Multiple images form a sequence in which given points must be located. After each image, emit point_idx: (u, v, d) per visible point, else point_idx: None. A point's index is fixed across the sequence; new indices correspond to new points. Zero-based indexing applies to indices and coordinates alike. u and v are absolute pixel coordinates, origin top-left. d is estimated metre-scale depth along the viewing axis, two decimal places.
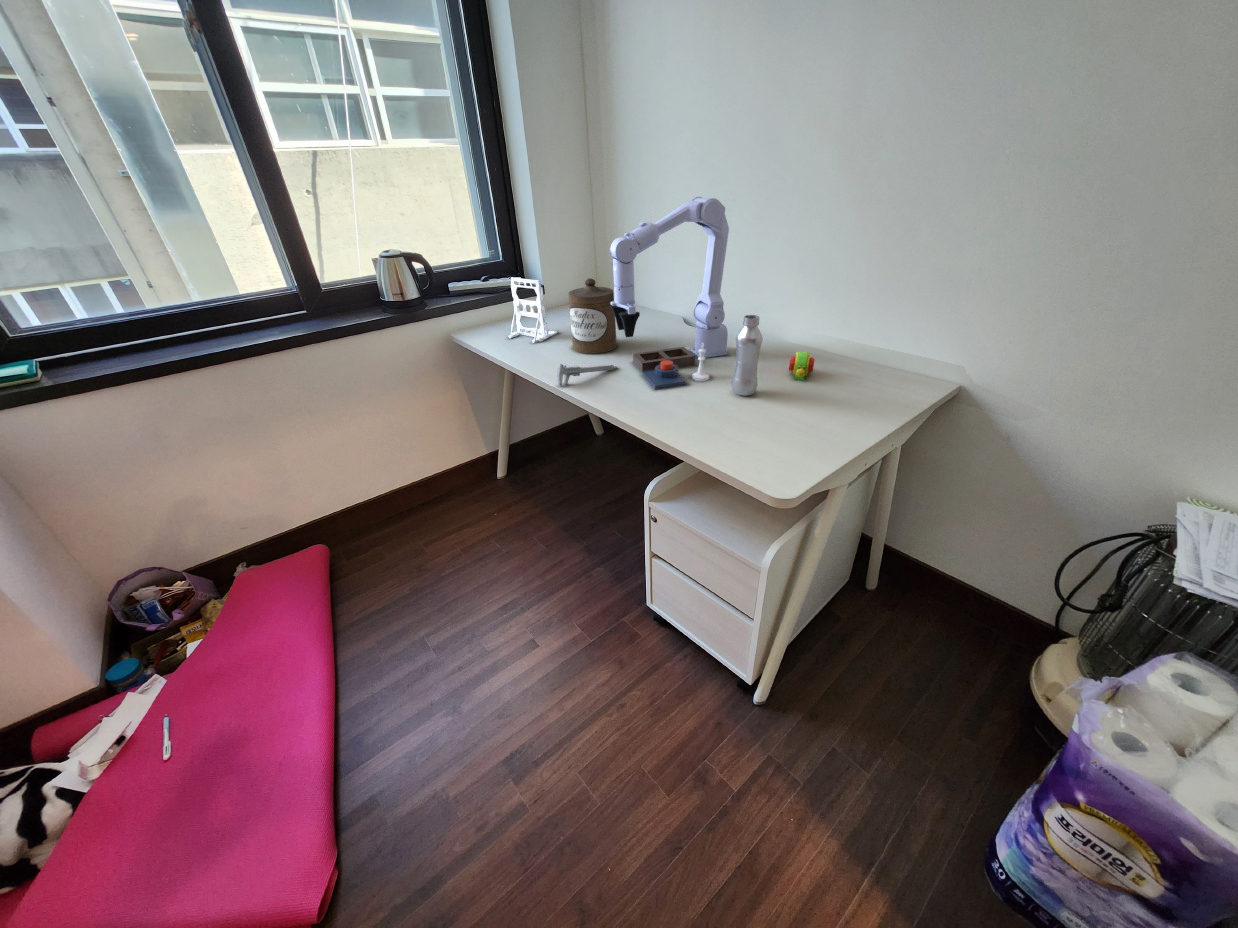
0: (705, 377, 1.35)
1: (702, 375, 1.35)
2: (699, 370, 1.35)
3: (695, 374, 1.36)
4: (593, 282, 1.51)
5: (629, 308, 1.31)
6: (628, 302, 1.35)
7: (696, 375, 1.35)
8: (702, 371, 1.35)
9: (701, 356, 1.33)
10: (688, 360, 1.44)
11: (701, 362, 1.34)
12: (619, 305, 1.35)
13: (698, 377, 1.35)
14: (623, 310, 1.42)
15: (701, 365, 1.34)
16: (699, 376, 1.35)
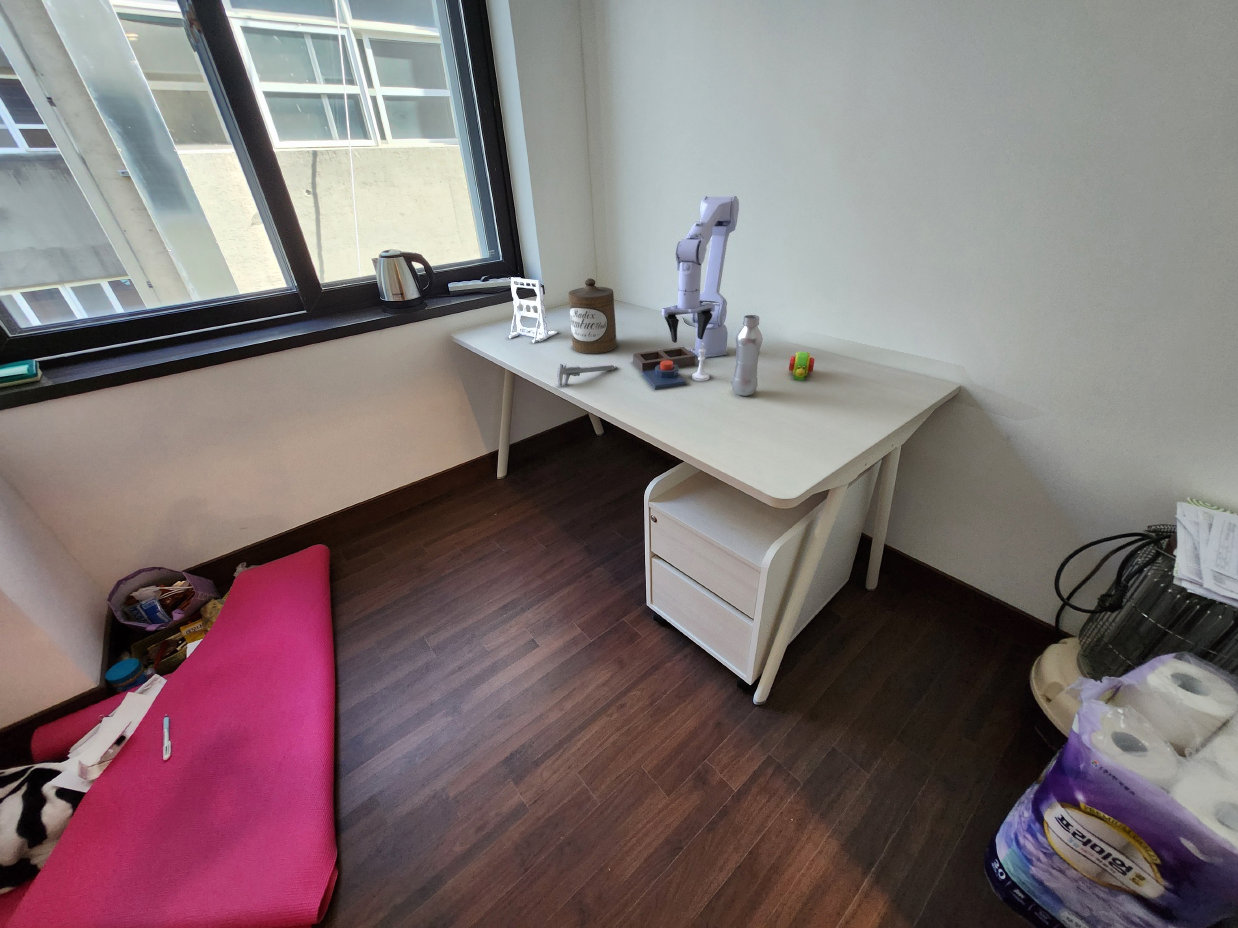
0: (705, 377, 1.35)
1: (702, 375, 1.35)
2: (699, 370, 1.35)
3: (695, 374, 1.36)
4: (593, 282, 1.51)
5: None
6: None
7: (696, 375, 1.35)
8: (702, 371, 1.35)
9: (701, 356, 1.33)
10: (688, 360, 1.44)
11: (701, 362, 1.34)
12: (700, 308, 1.27)
13: (698, 377, 1.35)
14: None
15: (701, 365, 1.34)
16: (699, 376, 1.35)
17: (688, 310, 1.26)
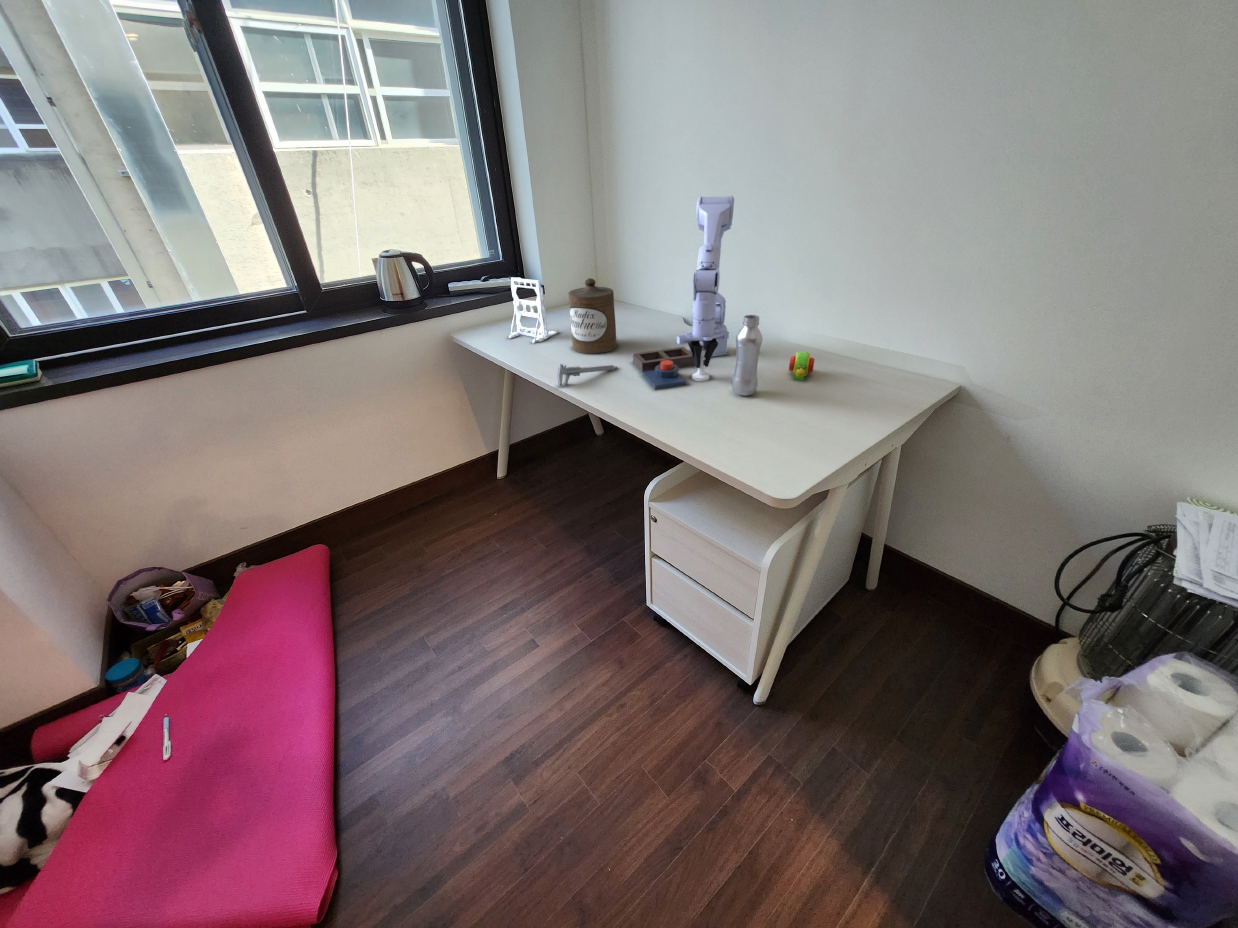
0: (705, 377, 1.35)
1: (702, 375, 1.35)
2: (699, 370, 1.35)
3: (695, 374, 1.36)
4: (593, 282, 1.51)
5: None
6: None
7: (696, 375, 1.35)
8: (702, 371, 1.35)
9: (701, 356, 1.33)
10: (688, 360, 1.44)
11: (701, 362, 1.34)
12: (715, 336, 1.29)
13: (698, 377, 1.35)
14: None
15: (701, 365, 1.34)
16: (699, 376, 1.35)
17: (703, 338, 1.28)
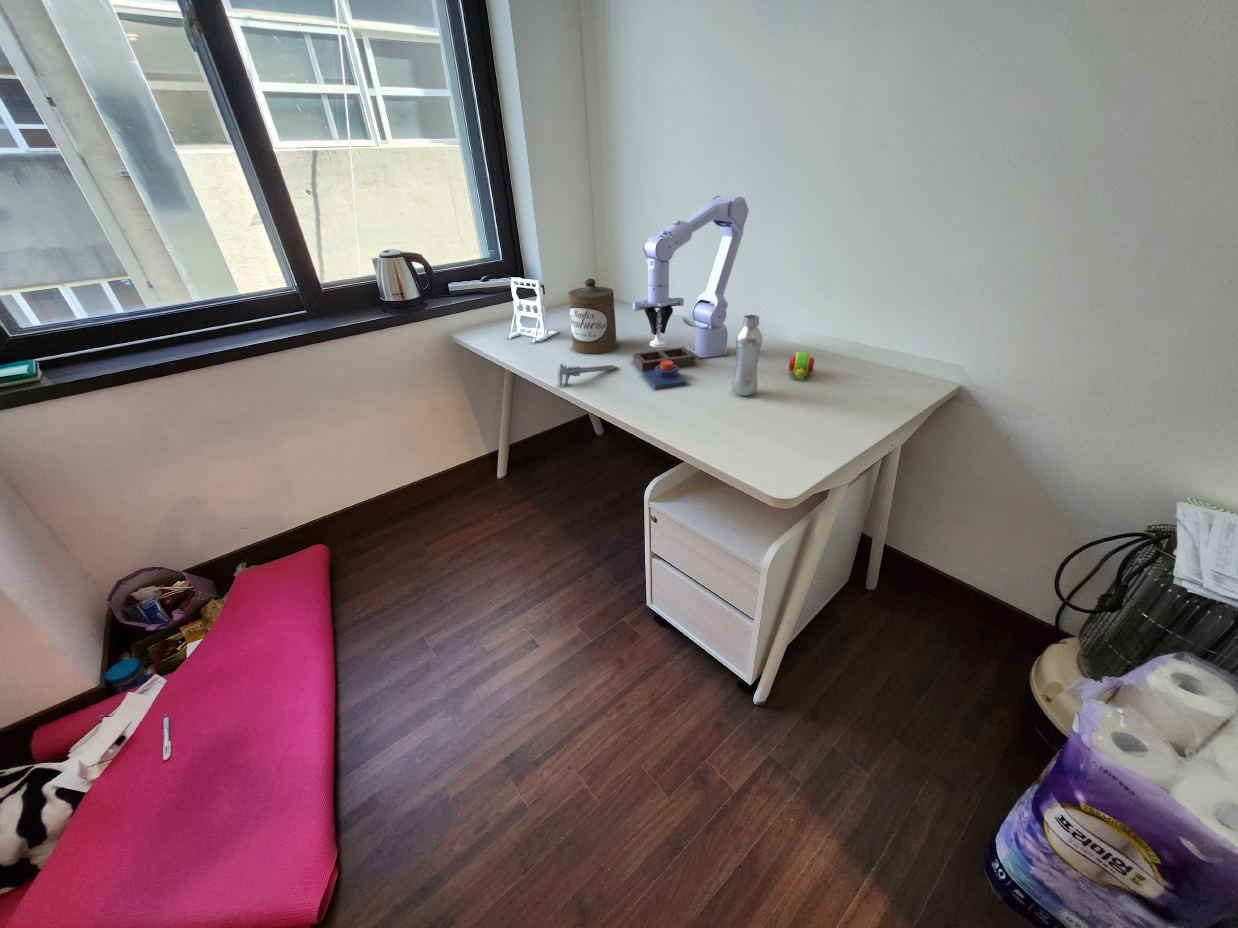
0: (662, 344, 1.39)
1: (659, 342, 1.40)
2: (656, 337, 1.40)
3: (653, 341, 1.41)
4: (593, 282, 1.51)
5: None
6: None
7: (653, 342, 1.40)
8: (659, 338, 1.40)
9: (657, 323, 1.37)
10: (688, 360, 1.44)
11: (658, 329, 1.38)
12: (670, 303, 1.34)
13: (655, 344, 1.39)
14: None
15: (658, 332, 1.39)
16: (656, 343, 1.39)
17: (657, 304, 1.32)
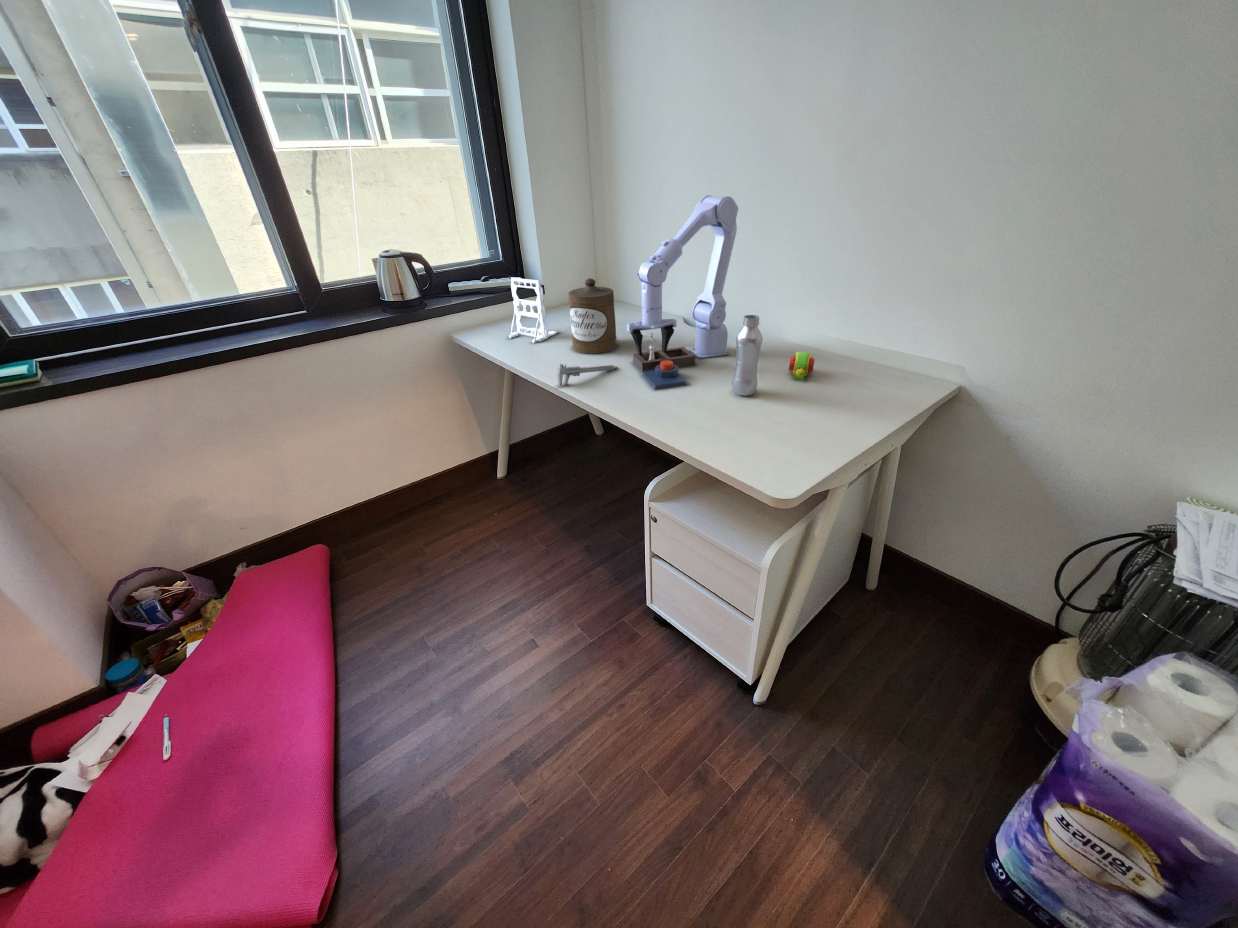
0: None
1: None
2: (650, 358, 1.45)
3: None
4: (593, 282, 1.51)
5: None
6: None
7: None
8: (653, 359, 1.45)
9: (651, 345, 1.42)
10: (688, 360, 1.44)
11: (651, 351, 1.43)
12: (663, 324, 1.38)
13: None
14: None
15: (651, 354, 1.44)
16: None
17: (651, 326, 1.37)
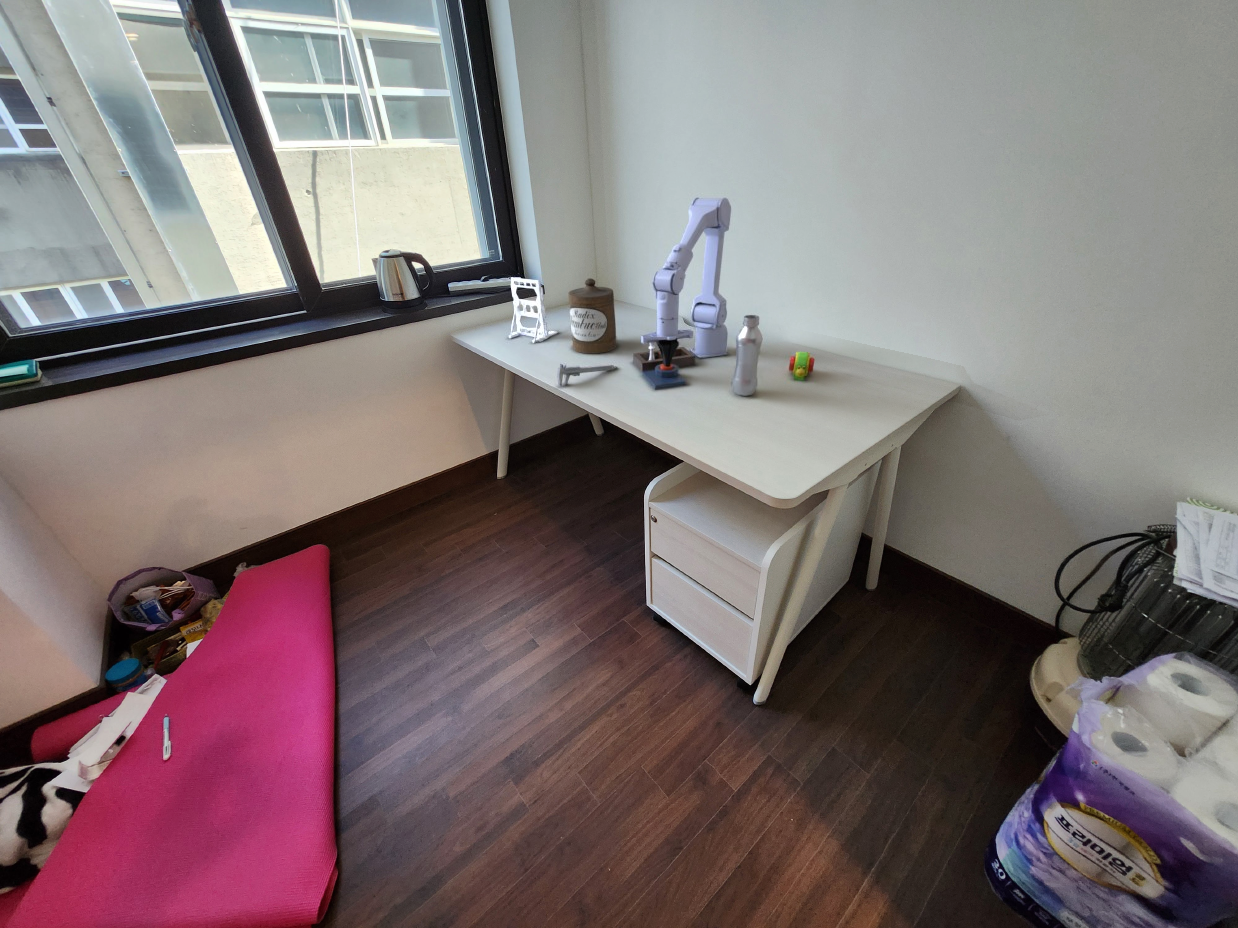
0: None
1: None
2: (650, 358, 1.45)
3: None
4: (593, 282, 1.51)
5: None
6: None
7: None
8: (653, 359, 1.45)
9: (651, 345, 1.42)
10: (688, 360, 1.44)
11: (651, 351, 1.43)
12: (679, 335, 1.30)
13: None
14: None
15: (651, 354, 1.44)
16: None
17: (667, 337, 1.29)
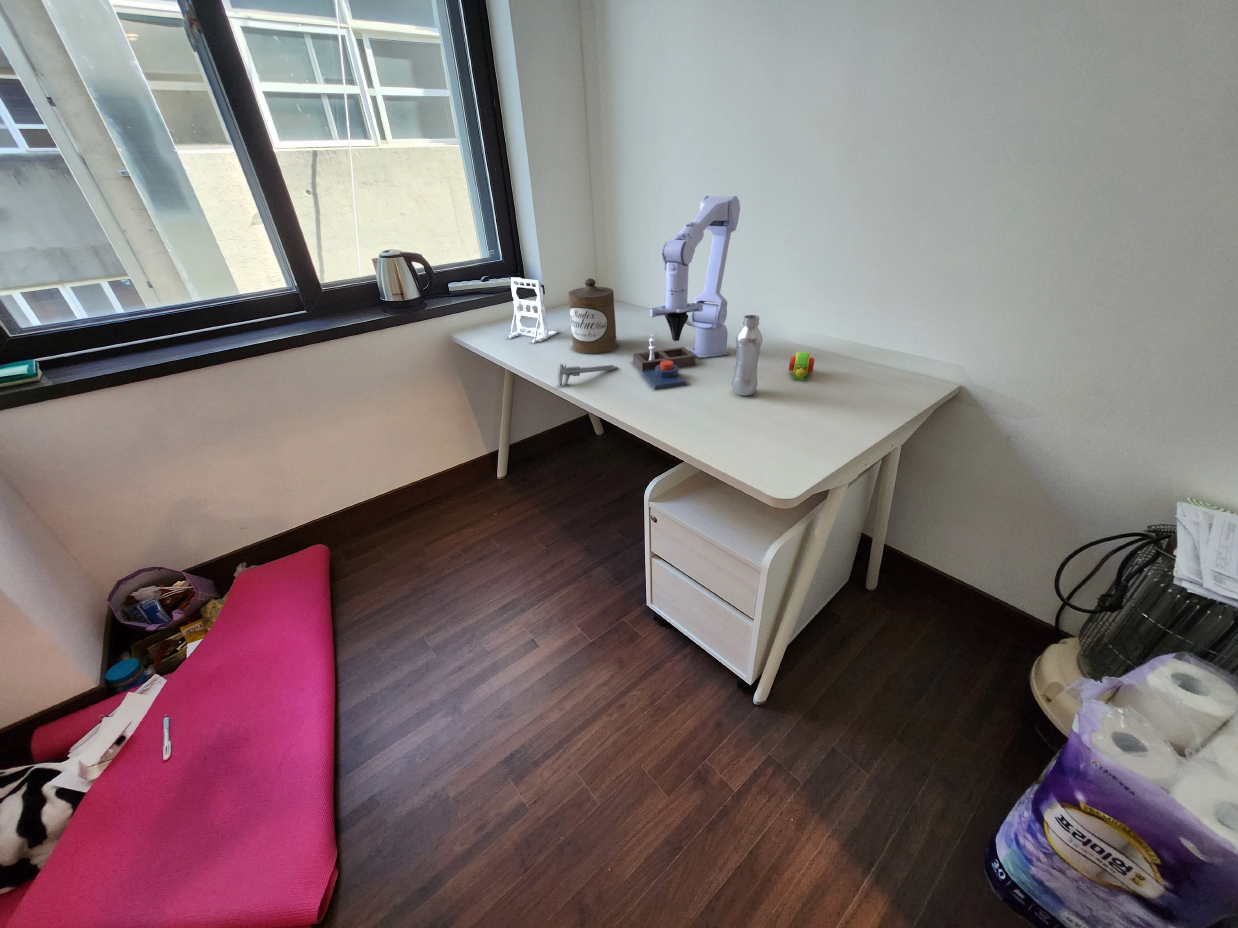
0: None
1: None
2: (650, 358, 1.45)
3: None
4: (593, 282, 1.51)
5: None
6: None
7: None
8: (653, 359, 1.45)
9: (651, 345, 1.42)
10: (688, 360, 1.44)
11: (651, 351, 1.43)
12: (688, 308, 1.28)
13: None
14: None
15: (651, 354, 1.44)
16: None
17: (676, 310, 1.26)
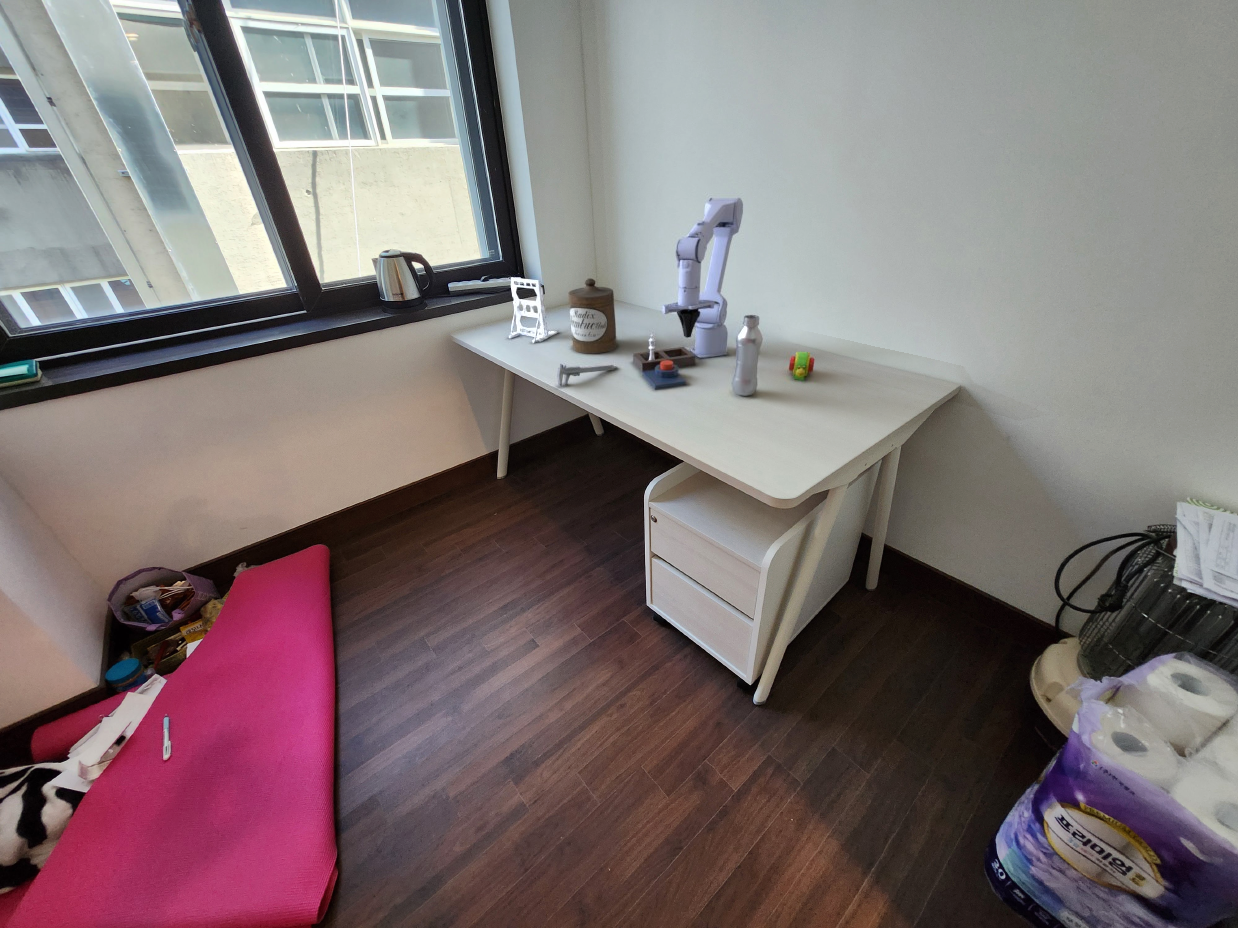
0: None
1: None
2: (650, 358, 1.45)
3: None
4: (593, 282, 1.51)
5: None
6: None
7: None
8: (653, 359, 1.45)
9: (651, 345, 1.42)
10: (688, 360, 1.44)
11: (651, 351, 1.43)
12: (700, 305, 1.30)
13: None
14: None
15: (651, 354, 1.44)
16: None
17: (688, 307, 1.28)
